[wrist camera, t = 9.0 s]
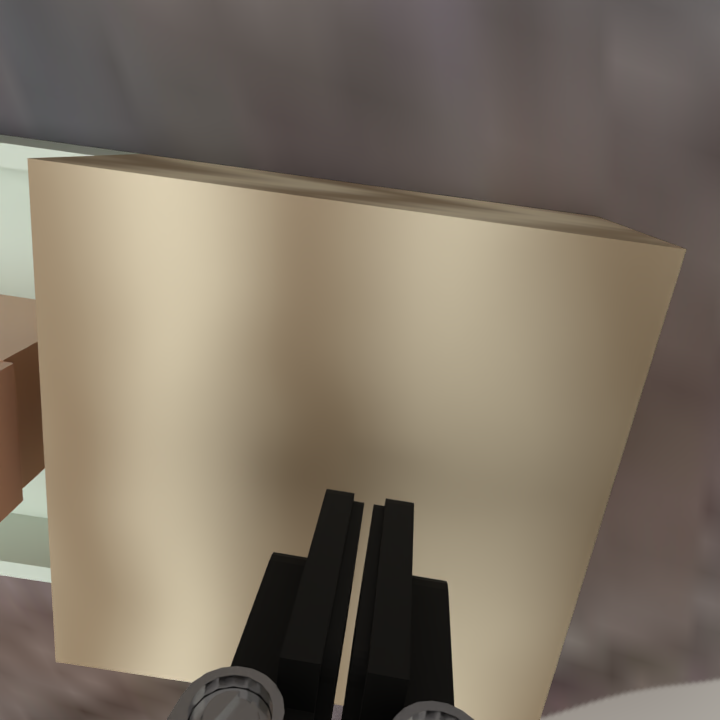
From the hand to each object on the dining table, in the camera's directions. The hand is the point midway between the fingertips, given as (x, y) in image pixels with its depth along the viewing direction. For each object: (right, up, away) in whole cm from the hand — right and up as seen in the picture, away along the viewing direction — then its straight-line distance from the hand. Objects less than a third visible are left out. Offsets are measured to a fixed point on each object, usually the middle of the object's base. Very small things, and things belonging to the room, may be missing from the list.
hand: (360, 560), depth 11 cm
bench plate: (-1, +3, +9) cm, 10 cm away
